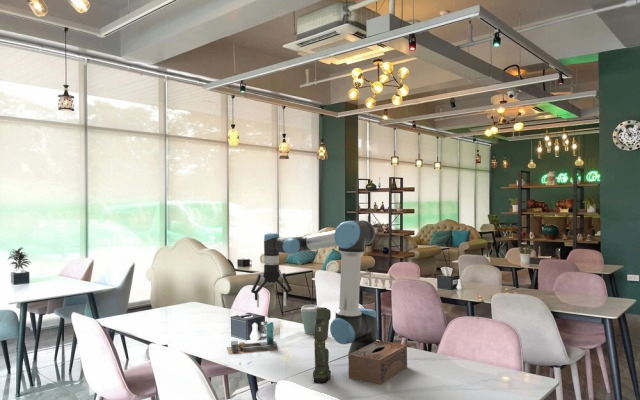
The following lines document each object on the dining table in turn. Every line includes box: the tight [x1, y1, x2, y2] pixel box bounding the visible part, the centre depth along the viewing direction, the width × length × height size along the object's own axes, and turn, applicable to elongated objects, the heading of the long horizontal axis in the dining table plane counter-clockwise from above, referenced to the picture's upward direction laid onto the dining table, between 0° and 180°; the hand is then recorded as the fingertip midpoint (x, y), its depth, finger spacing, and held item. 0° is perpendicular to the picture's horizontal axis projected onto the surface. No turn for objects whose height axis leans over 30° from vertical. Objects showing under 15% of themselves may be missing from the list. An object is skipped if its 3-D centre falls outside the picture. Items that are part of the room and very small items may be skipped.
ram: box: [259, 321, 278, 346], centre depth 244 cm, size 8×4×11 cm, turn 105°
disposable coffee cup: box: [300, 304, 319, 335], centre depth 276 cm, size 11×11×15 cm
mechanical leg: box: [312, 306, 332, 385], centre depth 203 cm, size 14×7×30 cm, turn 168°
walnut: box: [238, 341, 246, 350], centre depth 240 cm, size 4×4×4 cm
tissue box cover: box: [348, 339, 408, 386], centre depth 209 cm, size 26×14×10 cm, turn 145°
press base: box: [226, 340, 279, 356], centre depth 241 cm, size 24×13×5 cm, turn 105°
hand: (271, 306), depth 245 cm, fingers open, 13 cm apart
